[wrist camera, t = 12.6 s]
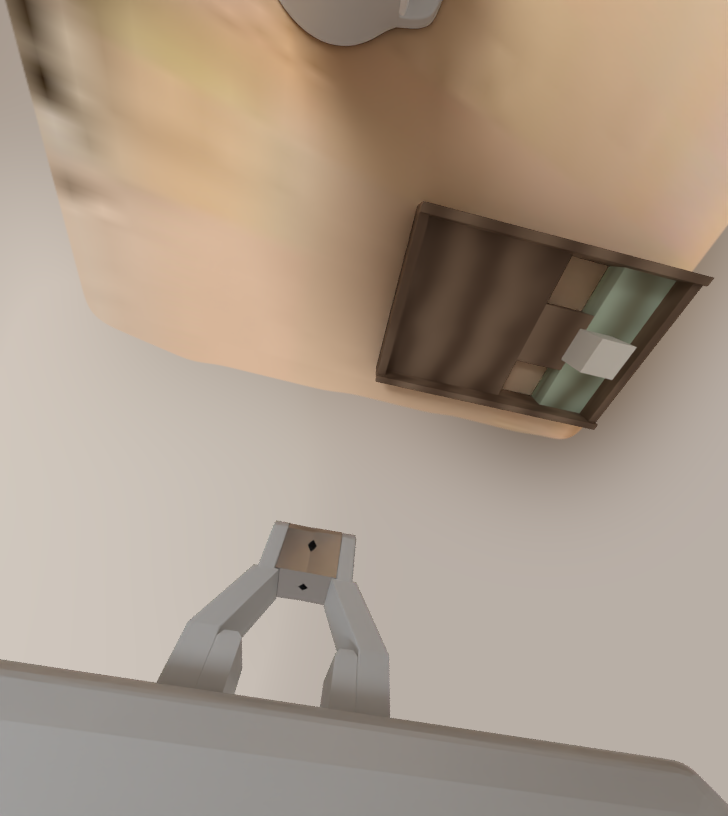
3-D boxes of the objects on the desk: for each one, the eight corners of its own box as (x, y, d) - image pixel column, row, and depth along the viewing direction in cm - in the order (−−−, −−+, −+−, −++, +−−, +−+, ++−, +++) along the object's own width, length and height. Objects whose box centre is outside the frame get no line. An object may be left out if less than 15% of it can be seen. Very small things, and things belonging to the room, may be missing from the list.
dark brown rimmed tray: (376, 366, 40) (375, 381, 36) (417, 206, 30) (423, 201, 26) (572, 410, 42) (593, 429, 38) (670, 272, 32) (714, 277, 28)
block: (560, 359, 36) (579, 372, 32) (580, 328, 34) (602, 338, 30) (590, 366, 36) (612, 379, 32) (611, 336, 34) (636, 347, 30)
